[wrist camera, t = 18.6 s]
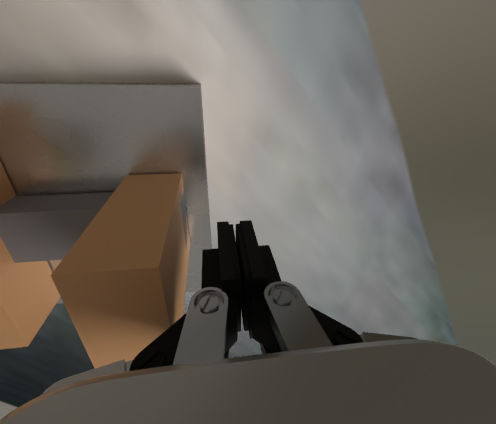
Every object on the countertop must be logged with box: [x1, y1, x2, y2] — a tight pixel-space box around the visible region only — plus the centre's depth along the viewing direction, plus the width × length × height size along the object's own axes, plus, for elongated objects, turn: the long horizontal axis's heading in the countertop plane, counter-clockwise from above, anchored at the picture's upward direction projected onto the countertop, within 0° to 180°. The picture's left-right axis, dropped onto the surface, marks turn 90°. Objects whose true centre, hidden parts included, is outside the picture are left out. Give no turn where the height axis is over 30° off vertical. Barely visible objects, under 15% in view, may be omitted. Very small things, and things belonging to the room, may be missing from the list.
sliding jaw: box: [0, 162, 190, 369], centre depth 12 cm, size 11×12×8 cm
